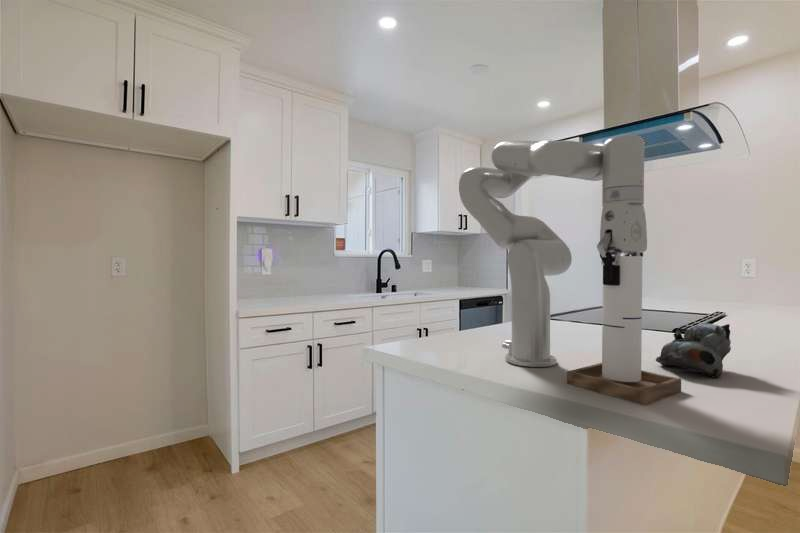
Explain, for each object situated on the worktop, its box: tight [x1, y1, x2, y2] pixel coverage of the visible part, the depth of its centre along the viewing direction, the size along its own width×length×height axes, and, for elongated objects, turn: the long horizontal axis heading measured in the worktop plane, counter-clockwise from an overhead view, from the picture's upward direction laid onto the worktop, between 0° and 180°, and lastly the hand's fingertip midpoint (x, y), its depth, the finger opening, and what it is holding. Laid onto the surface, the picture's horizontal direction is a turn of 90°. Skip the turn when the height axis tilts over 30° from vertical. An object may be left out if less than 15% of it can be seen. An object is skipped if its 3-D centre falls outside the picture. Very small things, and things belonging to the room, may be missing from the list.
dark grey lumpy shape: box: [655, 322, 732, 379], centre depth 96 cm, size 15×12×14 cm
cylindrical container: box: [601, 255, 643, 382], centre depth 84 cm, size 7×7×25 cm
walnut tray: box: [566, 362, 682, 406], centre depth 84 cm, size 16×14×2 cm
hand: (621, 283), depth 84 cm, fingers closed on cylindrical container, 7 cm apart
